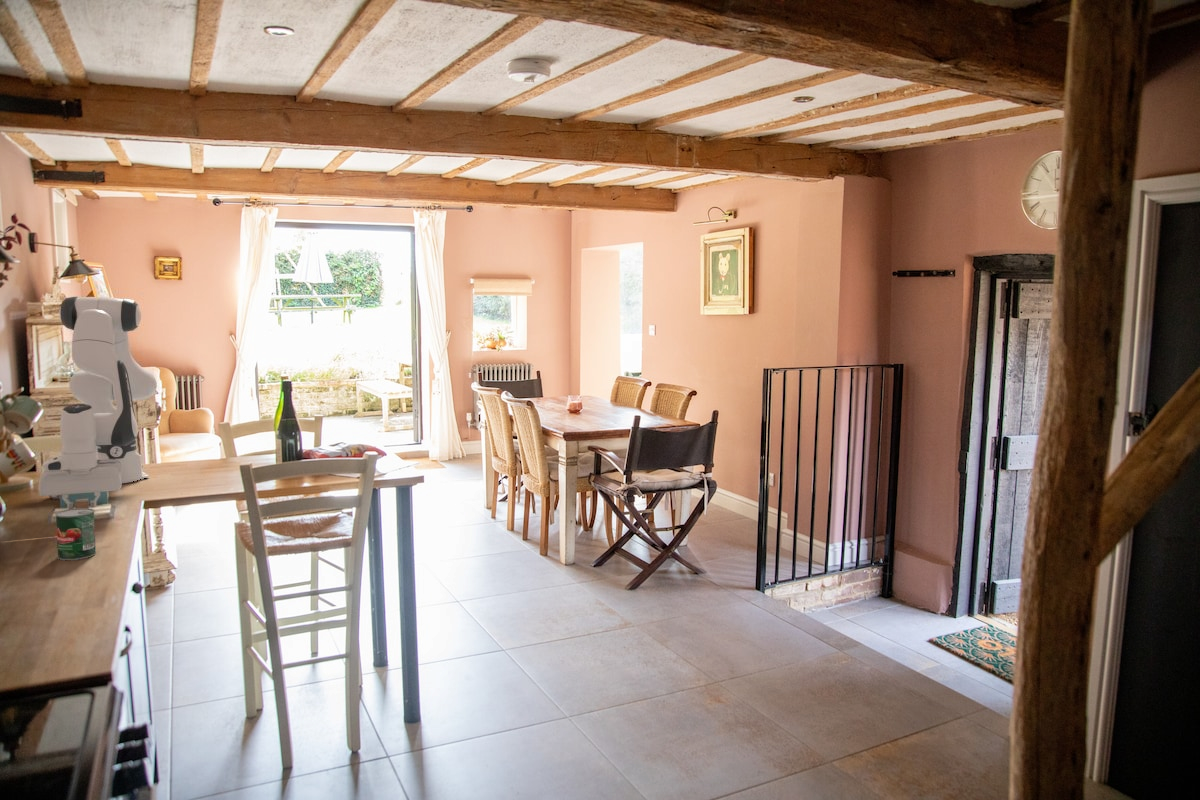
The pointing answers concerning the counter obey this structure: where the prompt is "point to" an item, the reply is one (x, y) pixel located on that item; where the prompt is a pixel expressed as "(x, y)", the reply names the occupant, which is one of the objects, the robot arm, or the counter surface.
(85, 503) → the lid
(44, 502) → the counter surface
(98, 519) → the mat
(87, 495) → the teal open box
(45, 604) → the counter surface
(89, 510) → the canned tomato
